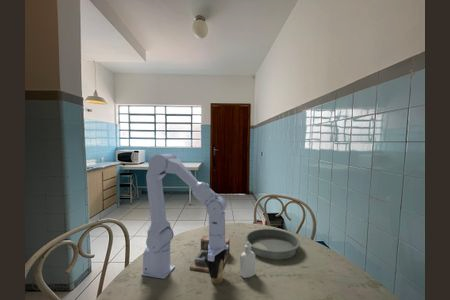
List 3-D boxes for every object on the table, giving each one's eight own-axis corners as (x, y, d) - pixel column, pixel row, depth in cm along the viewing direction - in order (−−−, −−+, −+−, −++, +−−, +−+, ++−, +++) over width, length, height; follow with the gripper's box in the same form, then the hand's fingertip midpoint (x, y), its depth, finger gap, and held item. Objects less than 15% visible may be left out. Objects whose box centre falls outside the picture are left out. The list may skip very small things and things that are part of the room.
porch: (189, 269, 81) (189, 252, 81) (203, 249, 96) (203, 235, 96) (219, 273, 78) (219, 256, 78) (229, 253, 94) (229, 238, 93)
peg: (209, 283, 73) (209, 262, 73) (213, 276, 77) (213, 257, 76) (220, 285, 72) (221, 264, 72) (223, 278, 76) (223, 258, 76)
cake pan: (254, 233, 115) (254, 225, 115) (302, 242, 105) (302, 233, 105) (237, 254, 93) (237, 243, 93) (296, 267, 82) (296, 256, 82)
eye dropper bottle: (239, 271, 80) (239, 239, 80) (254, 271, 80) (254, 239, 79) (240, 278, 75) (240, 244, 75) (256, 278, 75) (256, 244, 75)
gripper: (222, 242, 66) (223, 286, 66) (232, 226, 80) (232, 261, 80) (201, 240, 68) (201, 282, 68) (214, 224, 82) (214, 259, 82)
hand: (217, 271), depth 74 cm, fingers open, 7 cm apart
